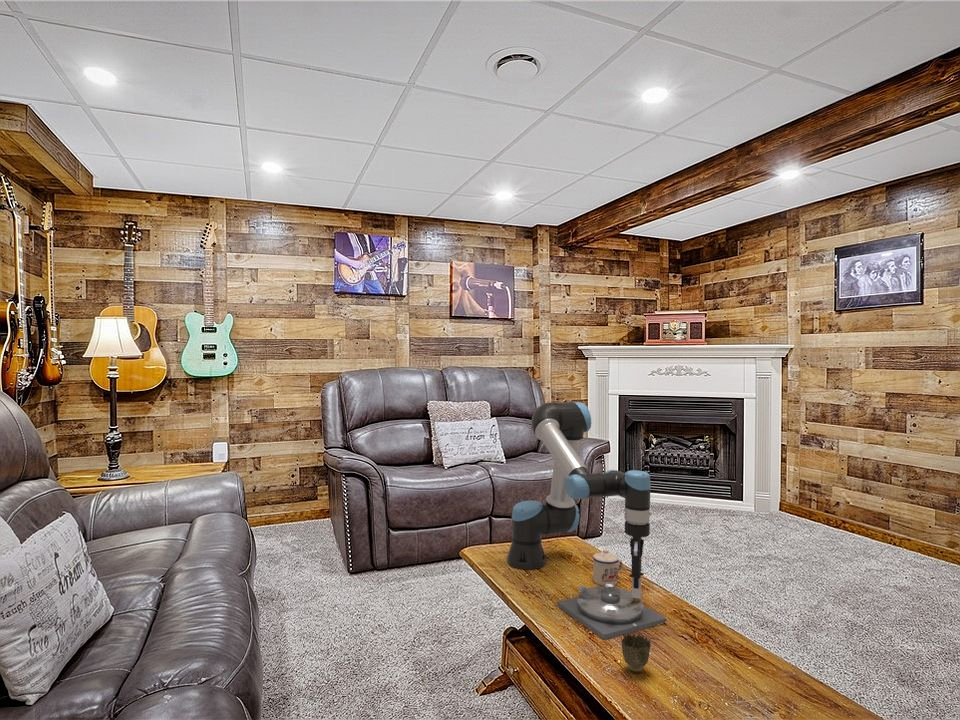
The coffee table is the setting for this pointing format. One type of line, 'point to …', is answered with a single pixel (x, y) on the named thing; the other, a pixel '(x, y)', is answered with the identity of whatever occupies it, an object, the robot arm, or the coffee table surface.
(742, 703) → the coffee table surface
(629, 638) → the cup
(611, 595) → the grey metal round disc
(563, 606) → the plate
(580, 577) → the coffee table surface
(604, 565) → the teacup with lid
